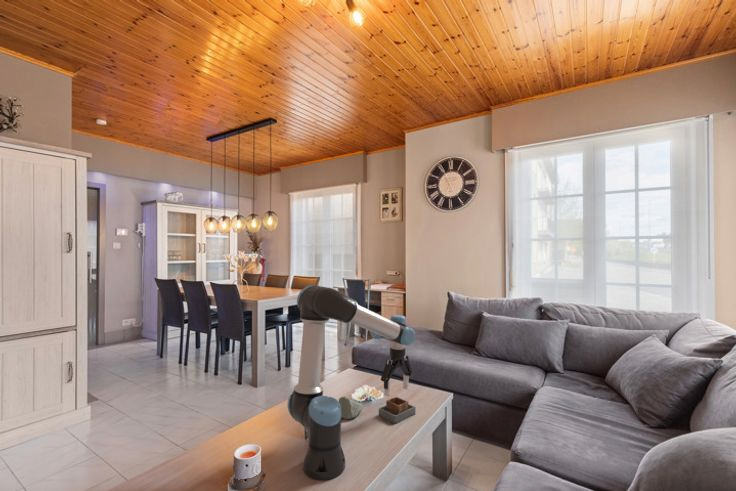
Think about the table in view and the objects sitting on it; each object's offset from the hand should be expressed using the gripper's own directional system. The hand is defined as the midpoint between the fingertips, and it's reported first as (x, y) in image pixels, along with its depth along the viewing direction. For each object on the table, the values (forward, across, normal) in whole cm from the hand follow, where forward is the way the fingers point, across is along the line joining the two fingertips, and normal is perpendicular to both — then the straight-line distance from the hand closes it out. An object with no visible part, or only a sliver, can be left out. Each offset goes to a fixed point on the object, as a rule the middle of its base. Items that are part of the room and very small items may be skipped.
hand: (396, 392), depth 166 cm
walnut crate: (+10, +1, 0) cm, 10 cm away
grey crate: (+11, +1, 0) cm, 11 cm away
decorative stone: (+12, -16, +15) cm, 25 cm away
